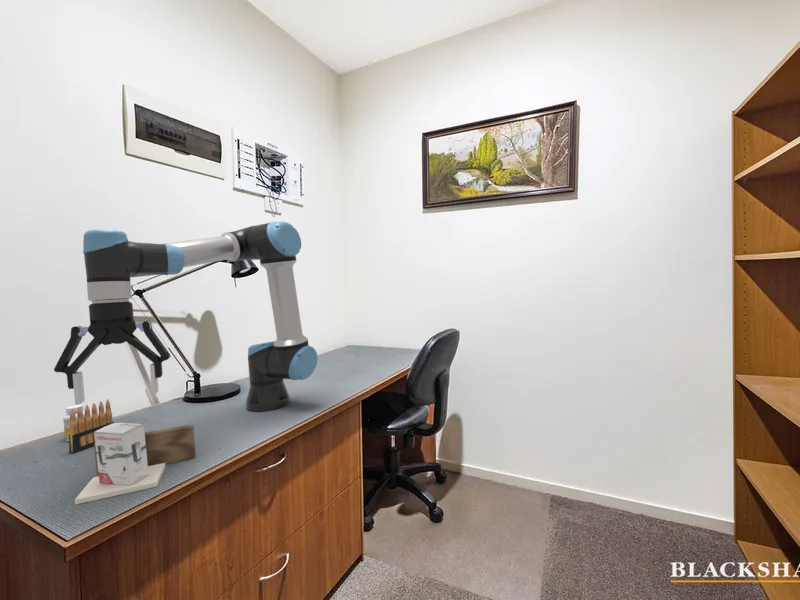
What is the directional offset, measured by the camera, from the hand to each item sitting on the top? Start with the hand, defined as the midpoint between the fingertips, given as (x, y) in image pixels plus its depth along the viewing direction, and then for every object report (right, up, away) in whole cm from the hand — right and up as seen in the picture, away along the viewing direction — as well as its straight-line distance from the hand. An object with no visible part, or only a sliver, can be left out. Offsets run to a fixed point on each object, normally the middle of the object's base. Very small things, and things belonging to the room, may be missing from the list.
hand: (119, 397), depth 81 cm
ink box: (+1, -19, 0) cm, 19 cm away
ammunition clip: (-26, -20, +24) cm, 40 cm away
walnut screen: (0, -19, +9) cm, 21 cm away
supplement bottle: (-36, -21, +30) cm, 51 cm away
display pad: (+1, -19, 0) cm, 19 cm away
